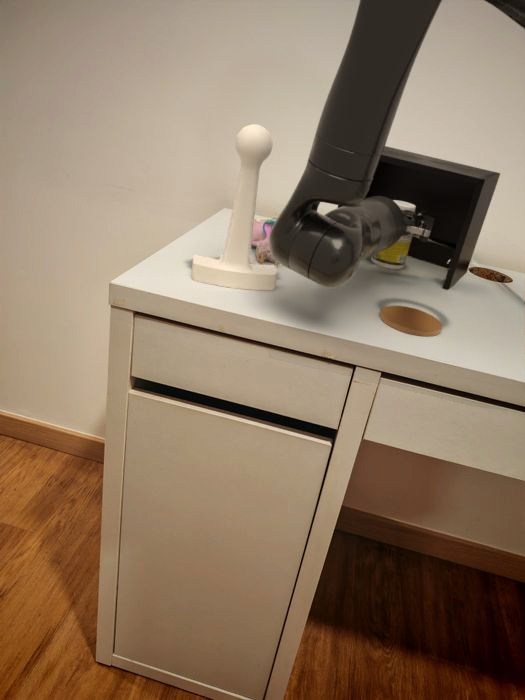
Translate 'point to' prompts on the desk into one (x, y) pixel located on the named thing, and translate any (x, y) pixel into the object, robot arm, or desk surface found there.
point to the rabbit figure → (262, 240)
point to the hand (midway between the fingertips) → (405, 212)
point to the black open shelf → (438, 204)
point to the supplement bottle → (395, 246)
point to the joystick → (241, 223)
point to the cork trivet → (410, 320)
